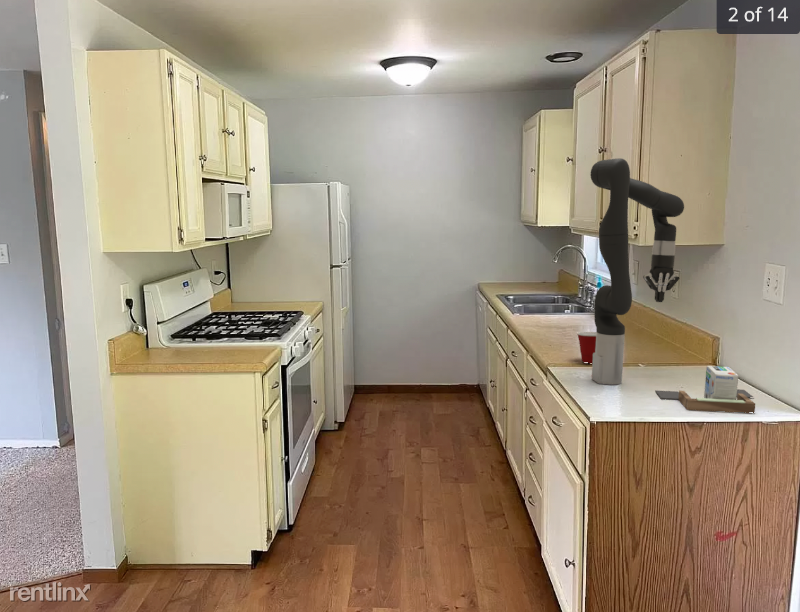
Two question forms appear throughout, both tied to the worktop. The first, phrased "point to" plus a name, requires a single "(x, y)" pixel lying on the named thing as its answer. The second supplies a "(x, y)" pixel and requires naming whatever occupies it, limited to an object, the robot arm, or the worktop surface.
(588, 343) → the plastic cup
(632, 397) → the worktop surface
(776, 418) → the worktop surface
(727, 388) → the light bulb box
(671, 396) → the pads
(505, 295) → the worktop surface
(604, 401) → the worktop surface
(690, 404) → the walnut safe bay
